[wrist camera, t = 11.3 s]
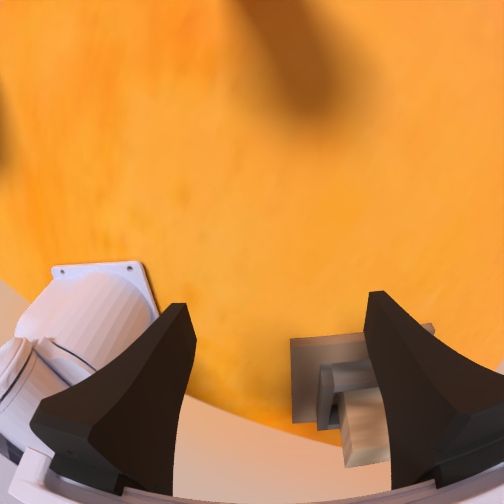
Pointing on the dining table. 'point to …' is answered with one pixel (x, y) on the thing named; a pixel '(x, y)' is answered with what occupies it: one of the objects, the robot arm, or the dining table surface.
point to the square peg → (363, 427)
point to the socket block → (328, 375)
